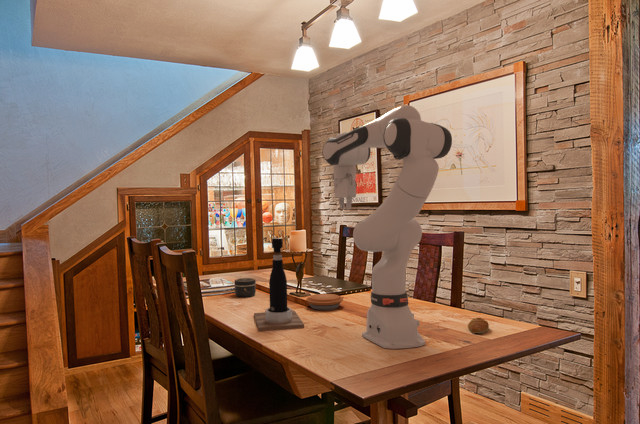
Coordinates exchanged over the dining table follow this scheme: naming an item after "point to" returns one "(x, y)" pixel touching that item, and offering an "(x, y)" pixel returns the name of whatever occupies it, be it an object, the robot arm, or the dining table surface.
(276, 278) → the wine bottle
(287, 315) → the grey bowl
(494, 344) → the dining table surface
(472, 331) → the pastry
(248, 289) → the jar
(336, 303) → the pie
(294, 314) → the walnut board
